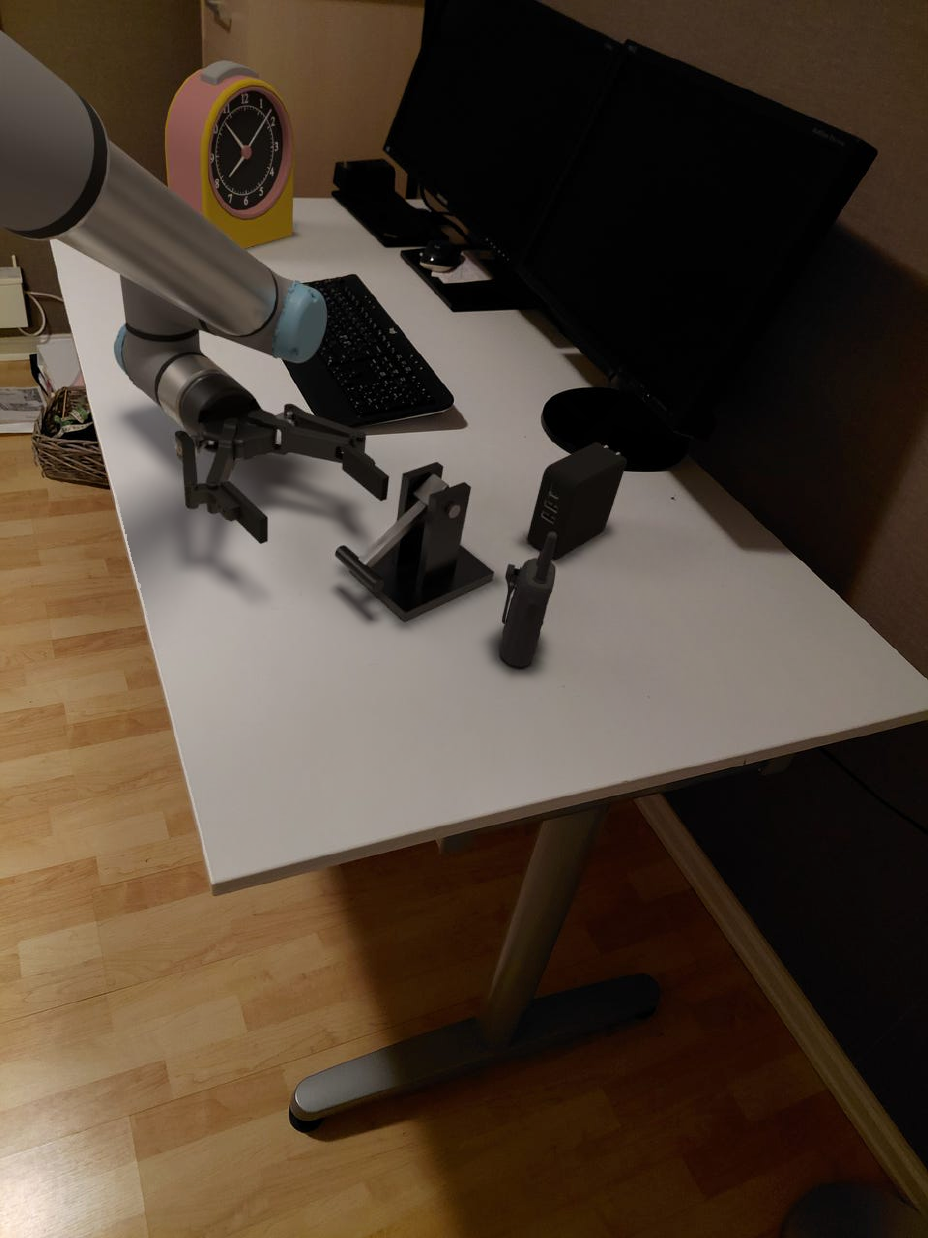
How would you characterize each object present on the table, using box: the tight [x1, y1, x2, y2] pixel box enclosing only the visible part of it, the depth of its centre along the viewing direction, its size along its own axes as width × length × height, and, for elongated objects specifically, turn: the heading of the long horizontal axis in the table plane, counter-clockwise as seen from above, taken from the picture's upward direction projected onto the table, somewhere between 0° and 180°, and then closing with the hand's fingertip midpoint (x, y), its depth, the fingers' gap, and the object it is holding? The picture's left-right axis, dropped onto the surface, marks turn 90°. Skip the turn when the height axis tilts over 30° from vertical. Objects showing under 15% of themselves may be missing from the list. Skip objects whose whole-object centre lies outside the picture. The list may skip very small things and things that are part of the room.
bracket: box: [348, 461, 495, 622], centre depth 83 cm, size 12×9×12 cm
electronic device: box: [526, 441, 628, 560], centre depth 93 cm, size 4×10×10 cm, turn 137°
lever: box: [334, 474, 450, 592], centre depth 80 cm, size 12×6×2 cm
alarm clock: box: [164, 59, 295, 249], centre depth 140 cm, size 21×9×26 cm, turn 147°
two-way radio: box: [499, 532, 557, 668], centre depth 76 cm, size 6×4×15 cm
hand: (327, 509), depth 79 cm, fingers open, 13 cm apart
